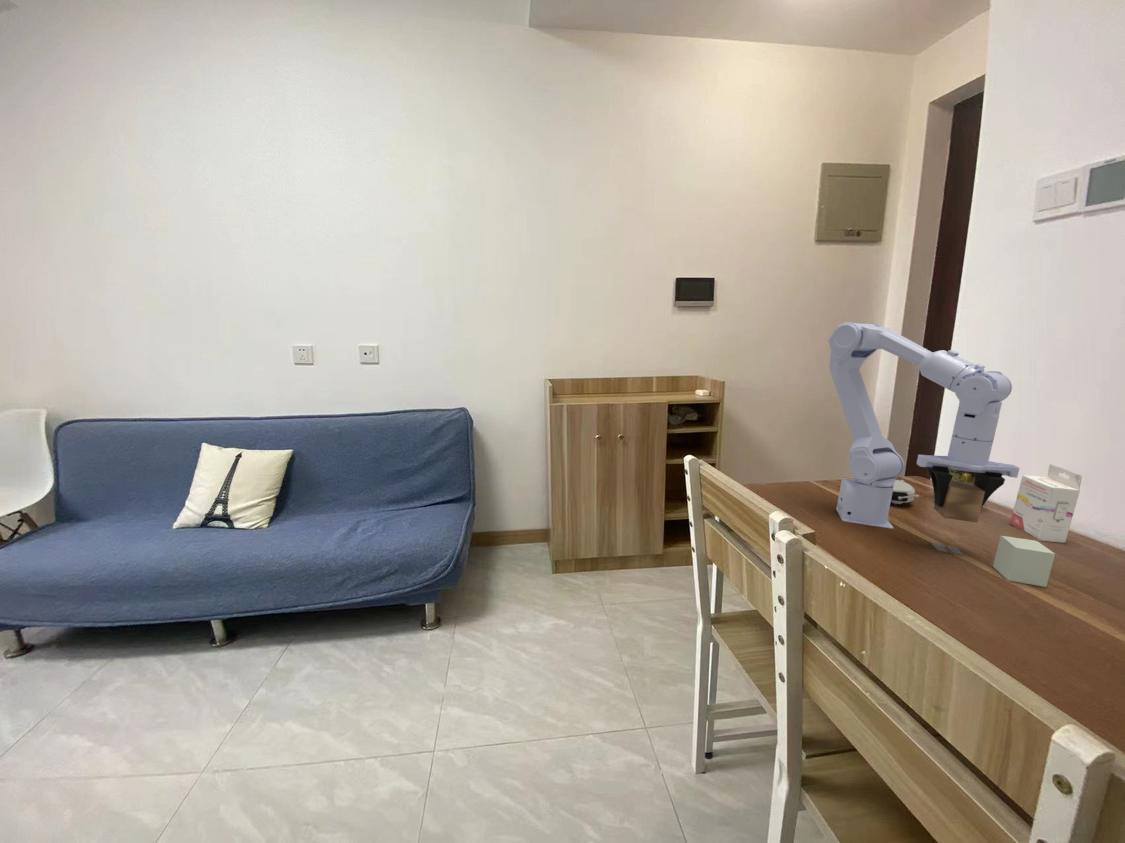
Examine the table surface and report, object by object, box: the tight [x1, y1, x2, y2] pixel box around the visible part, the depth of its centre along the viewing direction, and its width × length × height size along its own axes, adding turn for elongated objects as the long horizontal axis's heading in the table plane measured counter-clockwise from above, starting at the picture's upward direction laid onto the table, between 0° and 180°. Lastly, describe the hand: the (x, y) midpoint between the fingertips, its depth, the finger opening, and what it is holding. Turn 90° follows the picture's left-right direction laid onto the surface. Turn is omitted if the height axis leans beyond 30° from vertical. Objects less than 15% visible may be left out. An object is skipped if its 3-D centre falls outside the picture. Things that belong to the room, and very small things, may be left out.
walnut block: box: [933, 481, 985, 523], centre depth 86 cm, size 5×5×6 cm
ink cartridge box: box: [1009, 463, 1083, 544], centre depth 97 cm, size 9×5×15 cm, turn 168°
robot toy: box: [840, 477, 920, 505], centre depth 116 cm, size 12×4×15 cm
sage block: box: [992, 535, 1056, 588], centre depth 79 cm, size 5×5×6 cm
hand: (956, 507), depth 87 cm, fingers closed on walnut block, 5 cm apart
